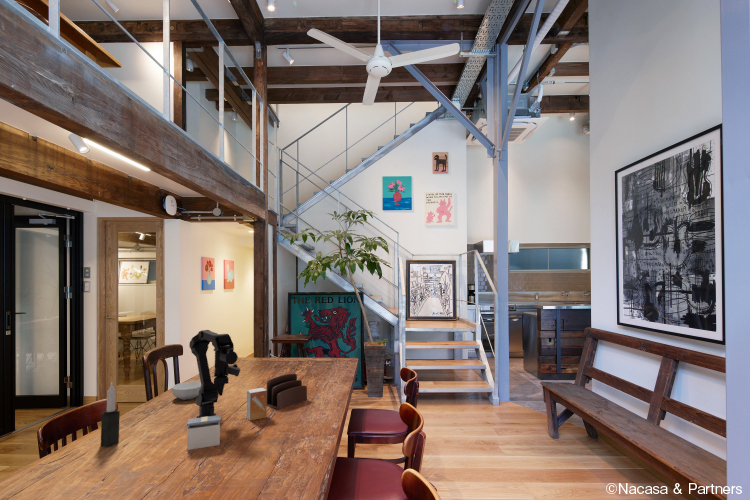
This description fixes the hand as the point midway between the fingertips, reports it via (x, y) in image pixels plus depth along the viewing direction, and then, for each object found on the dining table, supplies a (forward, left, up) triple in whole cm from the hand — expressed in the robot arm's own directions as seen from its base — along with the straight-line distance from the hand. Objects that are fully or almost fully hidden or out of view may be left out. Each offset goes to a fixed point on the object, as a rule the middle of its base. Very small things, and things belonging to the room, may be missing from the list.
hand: (220, 395), depth 183 cm
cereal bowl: (-48, +24, -13) cm, 55 cm away
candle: (-26, -34, -13) cm, 45 cm away
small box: (+10, +13, -13) cm, 21 cm away
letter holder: (+10, +37, -14) cm, 41 cm away
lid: (+10, -19, -4) cm, 22 cm away
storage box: (+10, -19, -13) cm, 25 cm away
